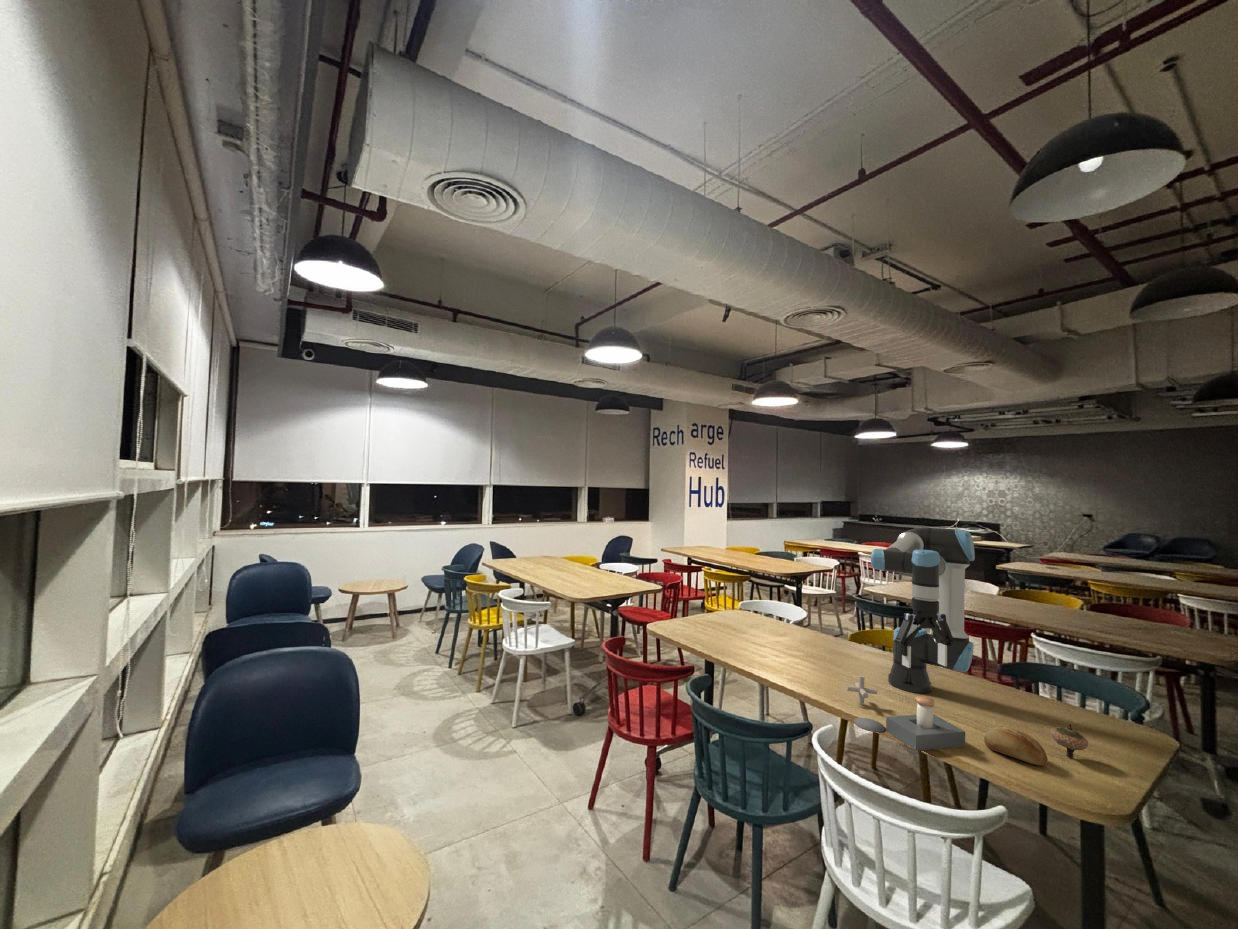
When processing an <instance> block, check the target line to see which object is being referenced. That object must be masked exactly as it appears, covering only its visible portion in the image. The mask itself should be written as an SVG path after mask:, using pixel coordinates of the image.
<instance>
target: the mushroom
mask: <svg viewBox="0 0 1238 929" xmlns="http://www.w3.org/2000/svg"><path fill="white" fill-rule="evenodd" d="M915 703H916V715H917V725H918V726H920V727H921V728H923V729H933V714H934V707H935V700H934V699H932V698H931V697H928V696H923V695H916V696H915Z"/></svg>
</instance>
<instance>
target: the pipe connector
mask: <svg viewBox="0 0 1238 929" xmlns="http://www.w3.org/2000/svg"><path fill="white" fill-rule="evenodd" d="M854 685H855V686H853V685H846V688H845V690H846V692H854V693H858V703H857V704H858V705H860V706H864V705H865V699H868V698H869V695H871V694H872V695H877V694H878V690H877V688H871V687H865V676H864V675H858V681H857V682H856V683H855V684H854Z"/></svg>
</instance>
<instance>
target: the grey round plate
mask: <svg viewBox="0 0 1238 929" xmlns="http://www.w3.org/2000/svg"><path fill="white" fill-rule="evenodd" d="M853 722H854V724H855V725H856V726H857V728H860V729H862V730H864V731H867V732H870V733H882V732H884V731H886V726H884V724H883V723H881V722H880V721H877V720H875V719H872V718H868V717H857V718H854V721H853ZM866 727H869V728H866Z"/></svg>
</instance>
